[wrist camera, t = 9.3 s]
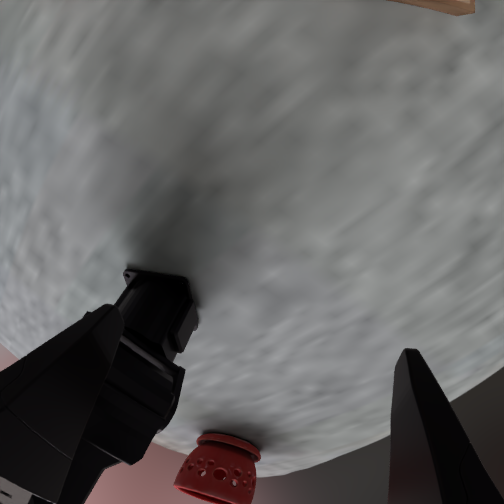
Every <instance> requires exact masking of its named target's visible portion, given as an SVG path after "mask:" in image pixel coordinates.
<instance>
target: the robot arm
mask: <svg viewBox="0 0 504 504" xmlns="http://www.w3.org/2000/svg"><path fill="white" fill-rule="evenodd" d="M123 276H124V278H125V281H126V284H127V287H126V289H125V290H124V291H123V293H122V294H121V296H120V297H119V298H118V300H117V301H116V303H115V304H114V305H112V304H104V305H102V306H101V307H99V308H98V309H96V310H95V311H93V312H88V311H87V312H86V314H85V315H84V316H83V318H82V319H81V320H79V321H77V322H76V323H74V324H73V325H71V326H70V327H68V328H67V329H65V330H64V331H62V332H61V333H59V334H57V335H56V336H54V337H53V338H51V339H50V340H48V341H47V342H45V343H44V344H42V345H41V346H39V347H38V348H36V349H35V350H33V351H32V352H30V353H29V354H27V356H24V357H23V358H21V359H20V360H18V361H17V362H15V363H14V364H12V365H11V366H9V367H7V368H6V369H4V370H2V371H1V372H0V504H84V503H85V501H86V499H87V498H88V496H89V494H90V493H91V491H92V489H93V488H94V486H95V484H96V482H97V481H98V479H99V477H100V476H101V474H102V473H103V471H104V470H105V469H107V468H109V467H111V466H114V465H116V464H119V463H121V462H124V463H126V464H128V465H133V464H135V463H136V462H138V461H139V460H140V459H142V458H143V456H144V454H145V452H146V450H147V448H148V446H149V444H150V443H151V441H152V439H153V437H154V436H155V434H157V433H160V432H161V431H162V430H163V429H164V428H165V427H166V426H167V425H168V424H169V422H170V421H171V419H172V417H173V416H174V414H175V411H176V409H177V405H178V401H179V397H180V392H181V388H182V383H183V379H184V375H185V369H184V368H182V367H181V366H177V365H176V364H174V363H173V361H174V359H175V356H176V354H177V353H182V352H183V351H184V349H185V347H186V345H187V343H188V341H189V338H190V336H191V334H192V332H193V331H196V330H197V328H198V323H197V321H198V317H197V312H196V308H195V303H194V301H193V299H192V296H191V291H190V286H189V282H188V280H187V279H186V278H184V277H180V276H174V275H167V274H160V273H153V272H147V271H140V270H134V269H125V271H124V272H123ZM388 504H504V499H503V498H502V496H501V494H500V493H499V491H498V489H497V488H496V487H495V484H494V483H493V481H492V480H491V478H490V476H489V475H488V473H487V471H486V470H485V468H484V466H483V465H482V463H481V461H480V459H479V457H478V455H477V453H476V451H475V449H474V448H473V445H472V443H470V440H469V438H468V436H467V434H466V432H465V430H464V428H463V427H462V425H461V423H460V421H459V419H458V417H457V416H456V414H455V412H454V410H453V408H452V407H451V405H450V403H449V401H448V399H447V397H446V396H445V394H444V392H443V390H442V389H441V387H440V385H439V384H438V382H437V380H436V378H435V377H434V375H433V373H432V372H431V370H430V368H429V367H428V365H427V363H426V362H425V360H424V358H423V357H422V355H421V354H420V352H419V351H418V350H417V349H412V348H405V349H404V350H403V351H402V353H401V355H400V357H399V359H398V361H397V363H396V366H395V371H394V385H393V397H392V408H391V446H390V476H389V492H388Z"/></svg>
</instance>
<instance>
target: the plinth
mask: <svg viewBox="0 0 504 504" xmlns="http://www.w3.org/2000/svg"><path fill="white" fill-rule="evenodd" d="M388 1H394V2H399V3H405V4H410V5H415V6H419V7H424V8H428V9H432V10H436V11H440V12H444V13H447V14H451V15H455V16H460V15H466V14H472V13H475V0H388Z"/></svg>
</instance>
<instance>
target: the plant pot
mask: <svg viewBox="0 0 504 504" xmlns="http://www.w3.org/2000/svg"><path fill="white" fill-rule="evenodd" d="M196 442H197V445H198V447H197V448H195V449H194V450H193V451H192V452H191V453H190V454H189V456H188V457H187V458H186V460H185V462H184V463H183V465H182V467H181V469H180V470H179V473H178V475H177V477H176V479H175V482H174V487H175V488H176V489H178V490H180V491H182V492H184V493H186V494H188V495H191V496H193V497H196V498H198V499H201V500H204V501H207V502H211V503H214V504H251V502H252V499H253V495H254V491H255V485H256V468H255V464H254V463H255V462H258V461H260V459H261V455H260V452H259V451H258V449H257V448H256V447H254V446H253V445H251V444H250V443H249V442H248V441H245V440H241V439H239V438H236V437H232V436H229V435H224V434H217V433H209V434H204V435H201V436H200V437H199V438H198V439H197V441H196ZM204 471H206V474H205V475H204V476H201V474H202V472H204ZM224 477H226V478H225V479H224V480H223V478H224ZM233 481H235V482H236V486H234V485H233V483H232V482H233Z"/></svg>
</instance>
